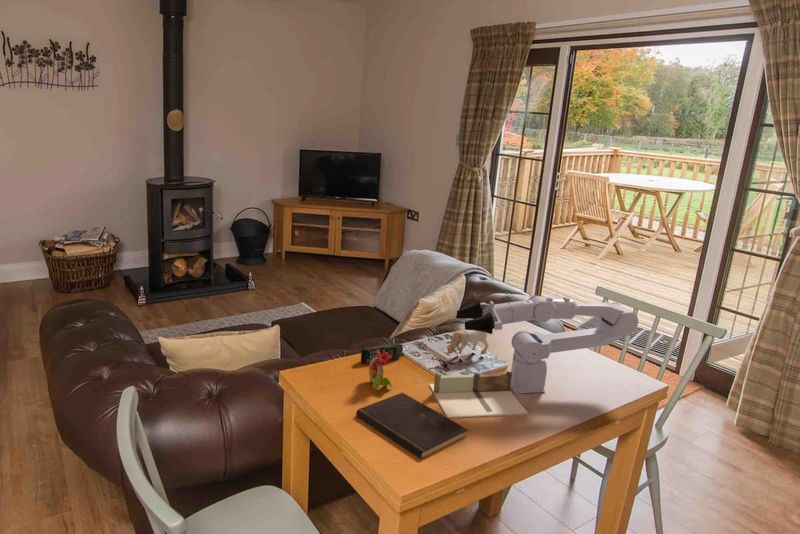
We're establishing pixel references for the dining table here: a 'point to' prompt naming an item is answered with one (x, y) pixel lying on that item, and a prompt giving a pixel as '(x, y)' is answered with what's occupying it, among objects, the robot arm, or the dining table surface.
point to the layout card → (478, 403)
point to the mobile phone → (381, 351)
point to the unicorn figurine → (467, 340)
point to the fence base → (492, 382)
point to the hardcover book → (411, 424)
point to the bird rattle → (379, 370)
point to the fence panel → (453, 383)
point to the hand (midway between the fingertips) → (460, 320)
